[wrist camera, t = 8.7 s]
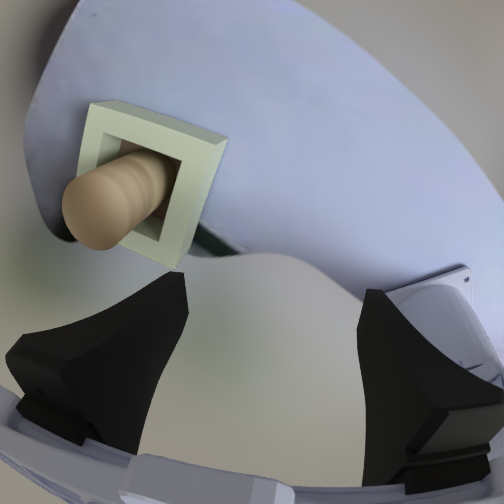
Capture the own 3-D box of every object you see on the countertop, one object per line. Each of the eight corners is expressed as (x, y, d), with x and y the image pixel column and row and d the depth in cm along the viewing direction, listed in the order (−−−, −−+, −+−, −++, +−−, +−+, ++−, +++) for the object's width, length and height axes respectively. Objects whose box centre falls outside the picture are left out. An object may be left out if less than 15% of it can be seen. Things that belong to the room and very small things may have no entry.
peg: (140, 213, 22) (87, 260, 15) (114, 164, 20) (51, 196, 14) (186, 190, 20) (139, 234, 14) (159, 137, 19) (99, 160, 13)
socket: (228, 138, 19) (215, 145, 16) (189, 249, 23) (174, 270, 20) (115, 100, 18) (90, 103, 16) (93, 206, 22) (71, 221, 20)
